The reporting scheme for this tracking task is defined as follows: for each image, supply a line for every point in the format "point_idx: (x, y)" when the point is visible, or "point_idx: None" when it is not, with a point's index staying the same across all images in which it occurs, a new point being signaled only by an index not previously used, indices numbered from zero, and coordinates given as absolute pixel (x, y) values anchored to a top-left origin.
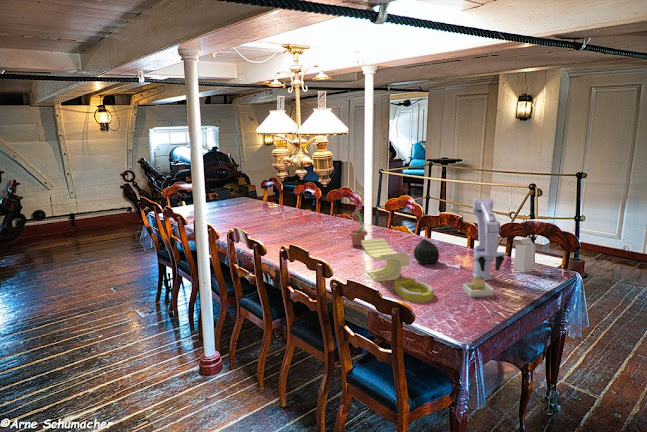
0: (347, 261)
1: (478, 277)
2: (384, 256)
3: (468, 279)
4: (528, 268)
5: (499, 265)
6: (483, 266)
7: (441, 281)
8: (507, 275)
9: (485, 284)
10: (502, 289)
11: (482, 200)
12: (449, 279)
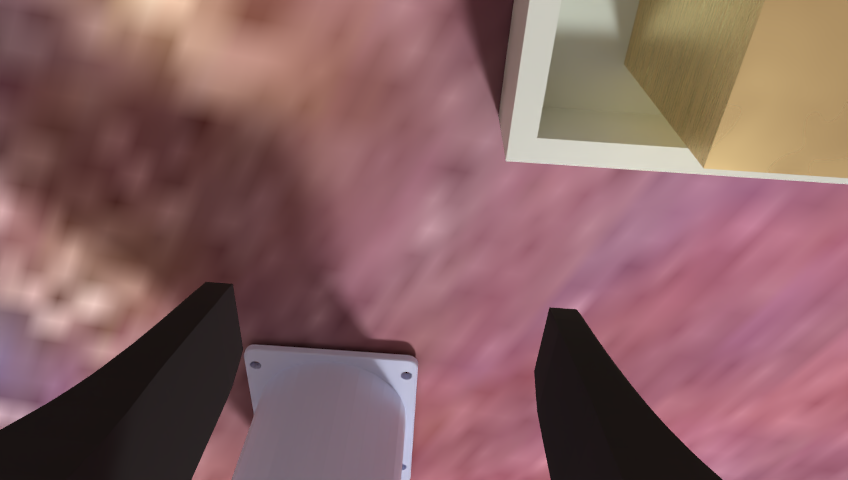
0: None
1: (826, 108)
2: None
3: (511, 393)
4: None
5: (135, 363)
6: (617, 396)
7: (838, 404)
8: (45, 400)
9: (544, 90)
10: (244, 50)
11: None
12: (710, 427)
